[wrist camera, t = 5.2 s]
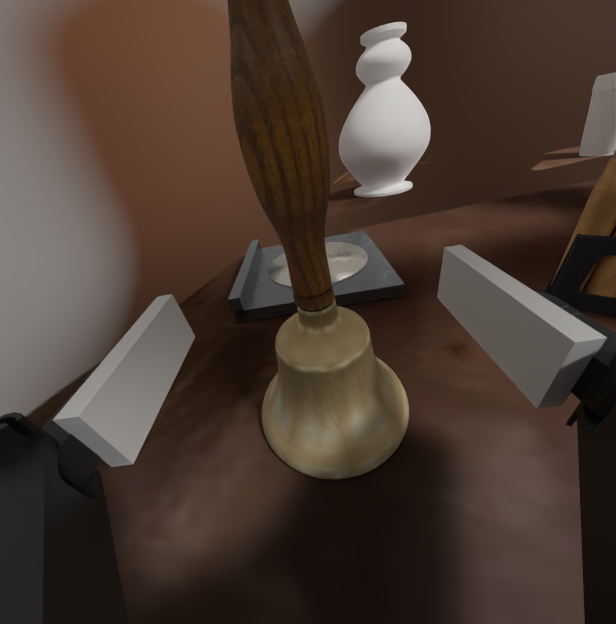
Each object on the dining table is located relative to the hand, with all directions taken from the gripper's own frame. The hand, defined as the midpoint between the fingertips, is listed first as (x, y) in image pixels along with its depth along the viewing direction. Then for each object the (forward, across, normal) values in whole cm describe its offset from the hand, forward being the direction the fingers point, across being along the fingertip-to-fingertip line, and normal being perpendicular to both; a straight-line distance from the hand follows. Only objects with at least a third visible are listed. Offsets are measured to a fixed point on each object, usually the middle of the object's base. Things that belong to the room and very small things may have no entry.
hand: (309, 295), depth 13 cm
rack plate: (+15, 0, -6) cm, 17 cm away
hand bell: (-2, 0, -6) cm, 7 cm away
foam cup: (+48, +62, -7) cm, 79 cm away
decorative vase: (+51, +18, -7) cm, 55 cm away
